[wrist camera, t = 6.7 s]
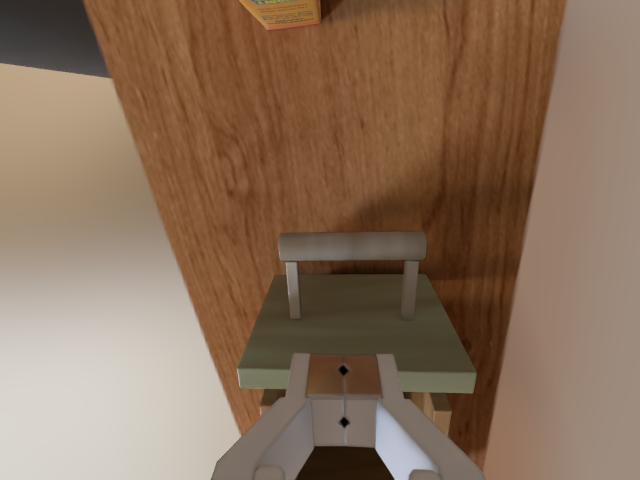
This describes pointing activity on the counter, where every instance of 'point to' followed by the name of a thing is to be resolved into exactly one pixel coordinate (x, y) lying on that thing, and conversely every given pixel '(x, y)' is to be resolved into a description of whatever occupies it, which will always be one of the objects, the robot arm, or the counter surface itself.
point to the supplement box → (284, 12)
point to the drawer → (357, 333)
